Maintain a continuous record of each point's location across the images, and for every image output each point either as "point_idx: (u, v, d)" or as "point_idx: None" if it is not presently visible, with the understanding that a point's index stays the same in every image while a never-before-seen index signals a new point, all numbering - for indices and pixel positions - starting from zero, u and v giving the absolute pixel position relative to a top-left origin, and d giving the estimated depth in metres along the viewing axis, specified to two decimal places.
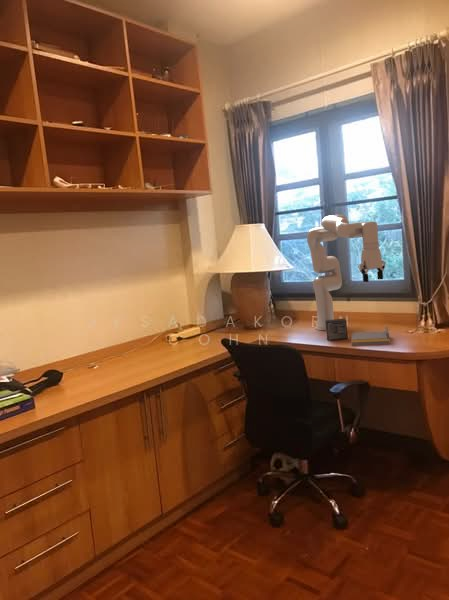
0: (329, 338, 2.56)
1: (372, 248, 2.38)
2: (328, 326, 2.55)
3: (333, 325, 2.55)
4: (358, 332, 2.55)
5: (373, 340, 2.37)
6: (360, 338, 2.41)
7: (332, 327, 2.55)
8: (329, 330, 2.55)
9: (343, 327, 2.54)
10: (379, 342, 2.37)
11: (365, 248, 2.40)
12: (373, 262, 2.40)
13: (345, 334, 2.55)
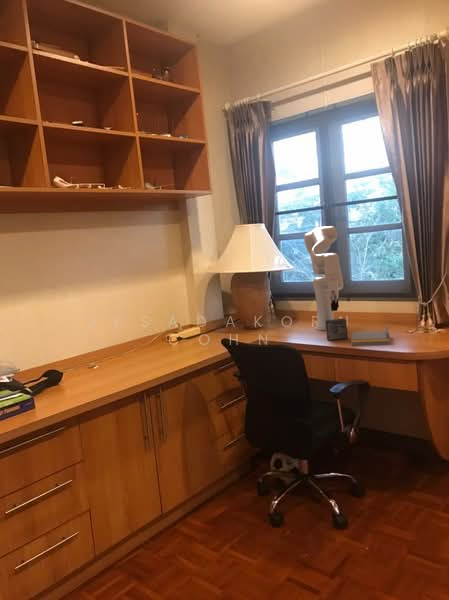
0: (329, 338, 2.56)
1: (338, 278, 2.51)
2: (328, 326, 2.55)
3: (333, 325, 2.55)
4: (358, 332, 2.55)
5: (373, 340, 2.37)
6: (360, 338, 2.41)
7: (332, 327, 2.55)
8: (329, 330, 2.55)
9: (343, 327, 2.54)
10: (379, 342, 2.37)
11: (332, 278, 2.51)
12: None
13: (345, 334, 2.55)
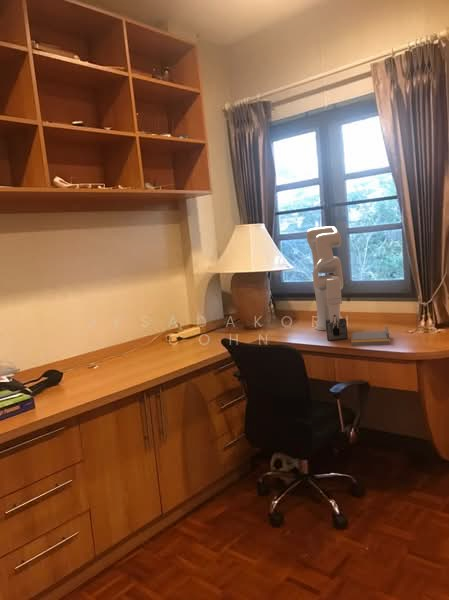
0: (329, 338, 2.56)
1: (340, 302, 2.53)
2: (328, 326, 2.55)
3: None
4: (358, 332, 2.55)
5: (373, 340, 2.37)
6: (360, 338, 2.41)
7: (332, 327, 2.55)
8: (329, 330, 2.55)
9: (343, 327, 2.54)
10: (379, 342, 2.37)
11: (334, 303, 2.52)
12: (339, 315, 2.55)
13: (345, 334, 2.55)
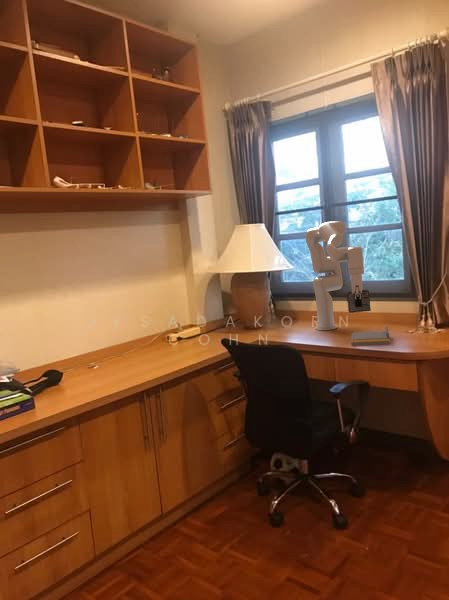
0: (351, 310, 2.44)
1: (362, 272, 2.42)
2: (350, 297, 2.44)
3: None
4: (358, 332, 2.55)
5: (373, 340, 2.37)
6: (360, 338, 2.41)
7: (354, 298, 2.43)
8: (351, 301, 2.44)
9: (365, 298, 2.43)
10: (379, 342, 2.37)
11: (356, 273, 2.41)
12: None
13: (368, 306, 2.43)
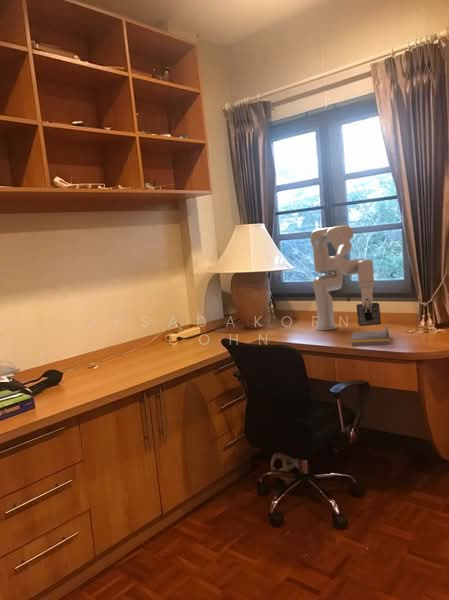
0: (361, 323, 2.42)
1: (373, 285, 2.39)
2: (360, 310, 2.41)
3: None
4: (358, 332, 2.55)
5: (373, 340, 2.37)
6: (360, 338, 2.41)
7: (364, 312, 2.41)
8: (361, 315, 2.41)
9: (375, 311, 2.40)
10: (379, 342, 2.37)
11: (366, 286, 2.39)
12: (372, 299, 2.41)
13: (378, 319, 2.41)
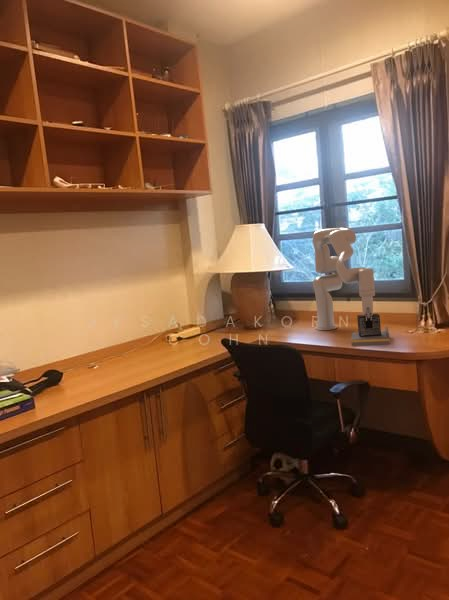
0: (361, 334, 2.43)
1: (373, 294, 2.40)
2: (360, 321, 2.43)
3: None
4: (358, 332, 2.55)
5: (373, 340, 2.37)
6: (360, 338, 2.41)
7: (365, 323, 2.42)
8: (361, 326, 2.43)
9: (376, 323, 2.42)
10: (379, 342, 2.37)
11: (367, 295, 2.39)
12: None
13: (378, 330, 2.42)
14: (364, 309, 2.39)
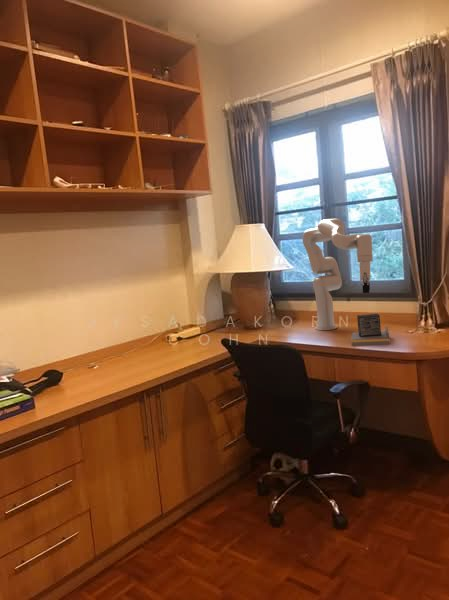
0: (361, 334, 2.43)
1: (371, 260, 2.45)
2: (360, 321, 2.43)
3: (366, 321, 2.42)
4: (358, 332, 2.55)
5: (373, 340, 2.37)
6: (360, 338, 2.41)
7: (365, 323, 2.42)
8: (361, 326, 2.43)
9: (376, 323, 2.42)
10: (379, 342, 2.37)
11: (364, 260, 2.44)
12: None
13: (378, 330, 2.42)
14: (361, 274, 2.45)
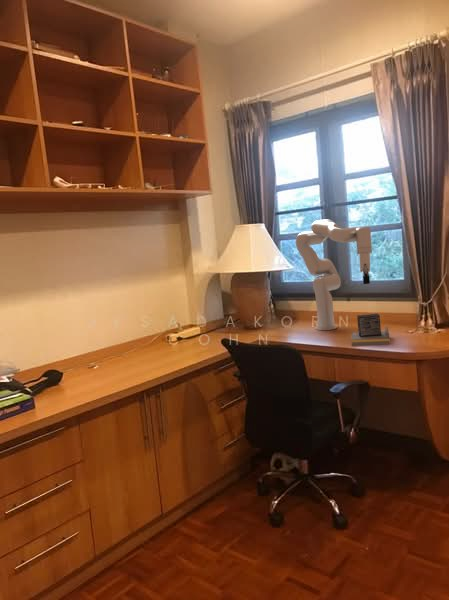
0: (361, 334, 2.43)
1: (370, 251, 2.52)
2: (360, 321, 2.43)
3: (366, 321, 2.42)
4: (358, 332, 2.55)
5: (373, 340, 2.37)
6: (360, 338, 2.41)
7: (365, 323, 2.42)
8: (361, 326, 2.43)
9: (376, 323, 2.42)
10: (379, 342, 2.37)
11: (364, 252, 2.51)
12: None
13: (378, 330, 2.42)
14: (361, 265, 2.51)
